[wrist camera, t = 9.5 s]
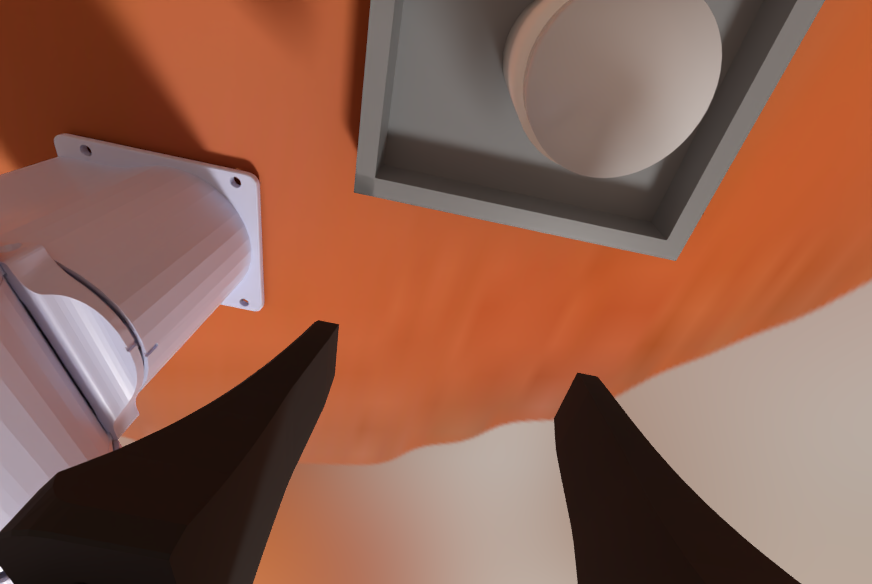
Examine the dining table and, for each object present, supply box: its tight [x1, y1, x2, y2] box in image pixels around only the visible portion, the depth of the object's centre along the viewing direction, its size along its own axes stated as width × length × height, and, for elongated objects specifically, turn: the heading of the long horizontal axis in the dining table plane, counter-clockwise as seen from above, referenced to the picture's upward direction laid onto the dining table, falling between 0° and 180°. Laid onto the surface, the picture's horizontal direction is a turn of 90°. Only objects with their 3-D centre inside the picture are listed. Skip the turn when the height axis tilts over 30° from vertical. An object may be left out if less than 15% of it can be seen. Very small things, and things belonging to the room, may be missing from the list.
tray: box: [354, 0, 825, 261], centre depth 16 cm, size 14×12×2 cm
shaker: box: [503, 0, 722, 178], centre depth 13 cm, size 4×4×8 cm
